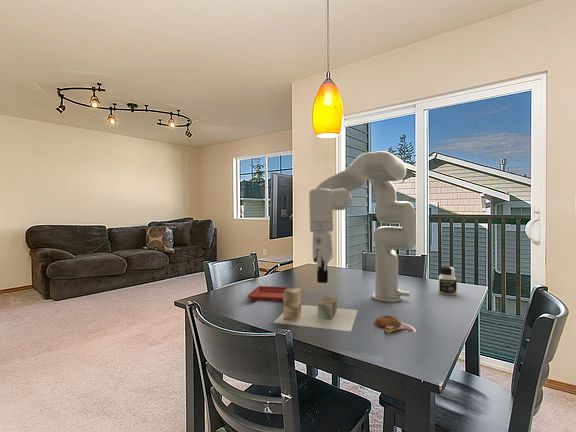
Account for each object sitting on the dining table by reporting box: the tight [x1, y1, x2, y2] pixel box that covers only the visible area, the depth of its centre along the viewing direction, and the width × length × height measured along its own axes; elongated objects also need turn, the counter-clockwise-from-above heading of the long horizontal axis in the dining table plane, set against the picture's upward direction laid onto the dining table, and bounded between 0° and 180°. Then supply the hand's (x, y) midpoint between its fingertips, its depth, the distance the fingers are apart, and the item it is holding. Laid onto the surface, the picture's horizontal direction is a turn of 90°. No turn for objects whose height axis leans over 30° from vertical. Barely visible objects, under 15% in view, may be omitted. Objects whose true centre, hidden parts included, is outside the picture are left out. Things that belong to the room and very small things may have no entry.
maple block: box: [282, 287, 302, 321], centre depth 115 cm, size 5×5×10 cm
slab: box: [272, 304, 359, 332], centre depth 117 cm, size 26×22×1 cm
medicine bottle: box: [438, 265, 458, 296], centre depth 153 cm, size 7×7×12 cm
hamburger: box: [374, 315, 417, 334], centre depth 108 cm, size 14×14×6 cm
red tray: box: [247, 285, 291, 303], centre depth 145 cm, size 18×18×3 cm
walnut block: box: [317, 296, 338, 320], centre depth 118 cm, size 5×5×10 cm
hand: (322, 282), depth 108 cm, fingers closed
